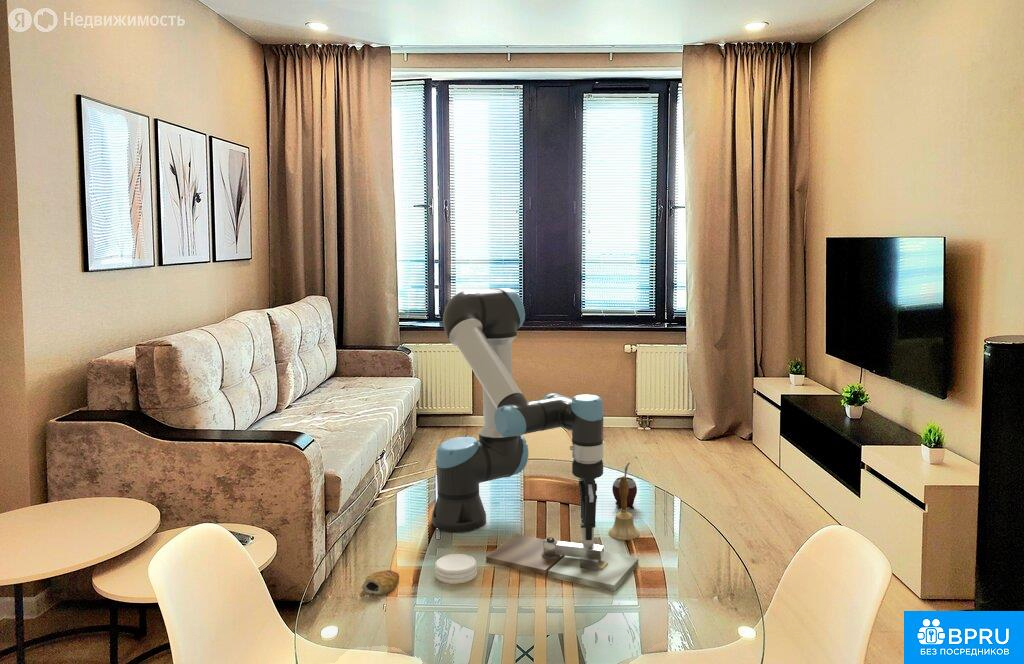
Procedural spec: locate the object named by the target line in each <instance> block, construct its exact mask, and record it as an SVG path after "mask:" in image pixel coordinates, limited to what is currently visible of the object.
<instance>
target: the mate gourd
mask: <svg viewBox="0 0 1024 664" xmlns="http://www.w3.org/2000/svg"><path fill="white" fill-rule="evenodd" d="M629 466H630V462H628V463H627V464H626V465H625V467H624V477H626V480H627V483H628V486H629V492H628V497H627V509H631V510H634V509H635V507H634V503H635V499H636V496H637V492H638V487H637V484H636V481H635V479H633V478H632V477H627V472H628V467H629ZM621 477H622V476H619V477H617V478H616V479H615V480H614V481H613V484H612V487H611V488H612V495H613V497H614V499H615V501H616V502H614V503H615V505H618V506H617V509H618V510H621V497H620V494H619V483H620V480H621Z"/></svg>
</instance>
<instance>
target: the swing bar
mask: <svg viewBox="0 0 1024 664" xmlns="http://www.w3.org/2000/svg"><path fill="white" fill-rule="evenodd" d="M604 549H605V547H604V545H602V544H595V543H594V544H591V545H588V544H582V543H578V542H569V541H562V540H561V541H560V540H558V539H556V538H555V537H546V538H545V540H544V541H543V553H544V554H545V555H548V556H554V555H564V556H572V557H580V558H581V557H586V558H591V559H596V560H599V561H601V560H602V558H603V556H604V552H605V550H604Z"/></svg>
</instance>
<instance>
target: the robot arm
mask: <svg viewBox="0 0 1024 664" xmlns="http://www.w3.org/2000/svg"><path fill="white" fill-rule="evenodd" d="M525 319H526V312H525V306H524V303H523V300H522V298H521V297H520V296H519V294H518V293H517V292H516V291H515V290H513V289H512V288H507V287H506V288H505V287H504V288H503V287H500V288H499V287H495V288H484V289H476V290H463V291H460V292H458V293H456V294H455V295H453V296H452V297H451V298H450V299H449V300H448V302H447V304H446V306H445V308H444V310H443V315H442V324H443V325H442V326H443V329H444V333H445V335H446V337H447V338H448V340H449V342H450V343H451V344H452V345H453V346H455V347H458V349H459V351H460V353H461V354H462V356H463V358H464V359H465V361H466V362H467V364H468V366H469V367H470V368H471V370H472V371H473V373H474V375H475V377H476V378H477V379H478V382H479V383H480V385H481V386H482V410H483V411H482V412H483V426H482V427H481V428H480V430H478V440H477V438H475V437H473V436H458V437H456V436H455V437H453V438H450V439H449V438H448V439H447V440H445V441H442V442H441V443H440V444H439V445H438V447H437V448H436V456H435V457H436V458H435V465H436V486H437V488H436V489H437V498H436V502H435V504H434V508H433V511H432V515H431V524H432V523H433V525H434V526H435V527H436V528H438V529H439V531H440V532H441V531H442V532H446V533H467V532H472V531H475V530H479V529H481V528H483V527H484V526H485V525H486V523H487V513H486V510H485V507H484V504H483V501H482V498H481V496H480V495H481V494H480V483H485V482H488V481H489V482H490V481H494V480H497V479H498V480H499V479H503V478H511V477H512V476H515V475H518V474H520V473H521V472H523V470H524V469H525V468H526V466H527V464H528V461H529V445H528V444H527V440H526V438H525V437H524V436H523V435H528V434H531V433H532V434H533V433H536V432H542V431H543V432H544V431H549V430H553V429H557V428H563V429H565V430H569V431H571V436H572V437H571V442H572V443H571V445H570V446H569V450H570V451H571V452H572V453H571V454H572V461H571V463H572V464H571V466H572V467H571V471H572V472H571V473H572V475H573V476H574V477H575V478H577V479H578V487H579V496H580V499H579V500H580V518H581V524H579V525H580V529H581V535H582V536H581V537H582V538H581V544H588V545H591V544H595V529H594V528H596V511H597V499H598V495H597V491H598V484H597V483H596V479H597V478H600V477H602V476H603V474H604V460H603V459H604V446H605V445H604V444H605V443H604V416H605V413H604V405H603V404H604V402H603V399H602V398H601V397H600V396H598V395H596V394H591V393H590V394H587V393H585V394H577V395H575V396H573V397H572V398H571V397H569V396H566V395H565V394H560V393H555V392H554V393H552V392H551V393H548V394H547V395H545V396H544V397H542V399H538V400H531V401H530V400H529V401H528V400H527V398H526V397H525V396H524V395H523V392H522V391H521V389H520V387H519V386H518V384H517V383H516V381H514V380H515V379H514V377H513V374H514V373H513V347H512V346H513V345H512V343H513V341H514V340H515V339H516V338H517V337H518V332H517V330H518V329H520V328H521V327H522V326H523V325H524V322H525ZM433 525H432V526H433ZM434 526H433V527H434ZM435 527H434V528H435ZM436 528H435V529H436ZM438 529H437V530H438Z"/></svg>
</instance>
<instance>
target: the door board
mask: <svg viewBox="0 0 1024 664" xmlns="http://www.w3.org/2000/svg"><path fill="white" fill-rule="evenodd" d="M545 539H546V538H545ZM545 539H543V538H539V537H534V536H529V535H526V534H525V535H524V534H519V533H515V535H513V536H512V537H511V538H509V539H508V540H506V541H505V542H504V543H502V544H501V545H500V546H498V547H497V548H496V549H494V550H493V551H492V552H491V553H489V554H488V555H486V556H485V563H487V564H490V565H496V566H499V567H503V566H504V568H509V569H513V570H518V571H522V572H525V573H526V572H527V573H531V574H534V575H535V574H536V575H539V576H543V577H546V576H547V575H548V577H549V578H552V579H556V580H557V579H558V580H561V581H567V582H570V583H574V584H579V585H584V586H587V587H592V588H597V589H601V590H605V591H609V592H615V591H616V590H617V589H618V587H619V586H620V585H621V584H623V582H624V581H625V580H626V579H627V578H628V577H629V576H630V575H631V574H632V572H633V571H634V570H635V569H636V568H637V567H638V565H639V558H638V557H633V556H628V555H623V554H620V553H619V554H618V553H614V552H608V551H604V556H603V558H602V560H601V561H599V560H596V559H591V558H586V557H581V558H580V557H572V556H564V555H554V556H548V555H545V554H544V553H543V541H544V540H545Z"/></svg>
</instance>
